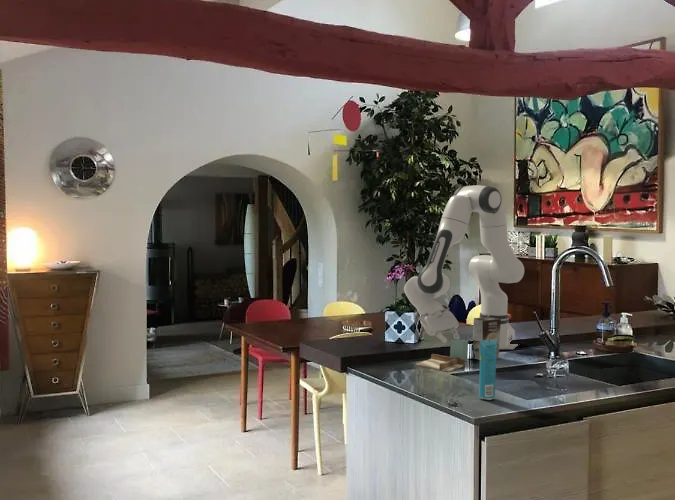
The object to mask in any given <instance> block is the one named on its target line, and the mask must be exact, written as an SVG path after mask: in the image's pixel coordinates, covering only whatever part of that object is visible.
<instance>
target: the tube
mask: <svg viewBox="0 0 675 500" xmlns="http://www.w3.org/2000/svg"><path fill="white" fill-rule="evenodd" d="M496 355H497V339H491V340H482V341H480V360H479V383H478V386H479V387H478V388H479V389H478V397H479V396H480V397H483V398H494V397H495V396H496V395H495V394H496V376H497V375H496V371H497V359H496ZM495 398H496V397H495Z"/></svg>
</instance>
